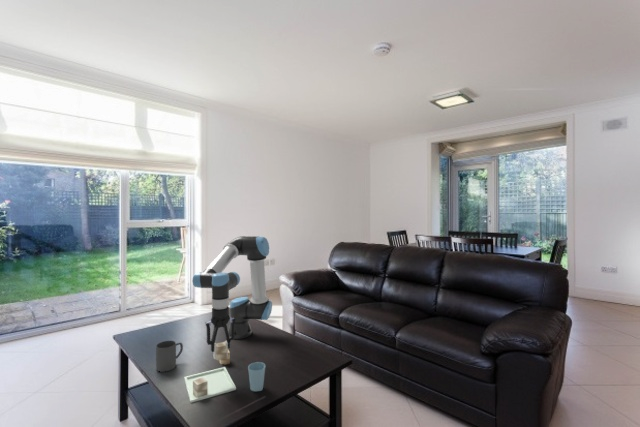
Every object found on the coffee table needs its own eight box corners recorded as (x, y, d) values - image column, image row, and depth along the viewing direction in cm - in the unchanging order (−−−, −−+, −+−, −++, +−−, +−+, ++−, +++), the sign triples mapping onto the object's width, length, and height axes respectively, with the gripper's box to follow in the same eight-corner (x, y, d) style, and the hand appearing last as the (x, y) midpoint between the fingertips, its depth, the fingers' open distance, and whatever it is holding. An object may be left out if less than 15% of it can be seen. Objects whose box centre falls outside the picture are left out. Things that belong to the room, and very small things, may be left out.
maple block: (203, 390, 139) (202, 377, 139) (207, 394, 135) (207, 381, 135) (192, 394, 135) (192, 380, 135) (197, 399, 132) (197, 385, 132)
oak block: (227, 359, 168) (227, 348, 168) (229, 363, 164) (229, 352, 164) (219, 362, 166) (219, 350, 165) (221, 365, 162) (221, 354, 162)
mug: (162, 374, 153) (162, 350, 153) (152, 368, 158) (152, 345, 158) (187, 362, 164) (187, 340, 164) (177, 358, 169) (177, 336, 169)
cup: (244, 388, 141) (244, 365, 141) (259, 382, 146) (260, 360, 146) (253, 396, 136) (253, 372, 135) (268, 389, 141) (268, 366, 140)
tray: (224, 369, 157) (225, 366, 157) (236, 391, 139) (236, 387, 139) (184, 380, 148) (184, 376, 148) (190, 404, 130) (190, 400, 130)
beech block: (224, 354, 148) (224, 341, 148) (226, 358, 145) (226, 345, 144) (214, 356, 146) (214, 343, 146) (216, 360, 142) (216, 347, 142)
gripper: (237, 302, 153) (237, 349, 153) (199, 307, 144) (199, 357, 144) (241, 306, 146) (241, 355, 147) (201, 312, 137) (202, 364, 138)
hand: (220, 356), depth 145 cm, fingers closed on beech block, 4 cm apart
